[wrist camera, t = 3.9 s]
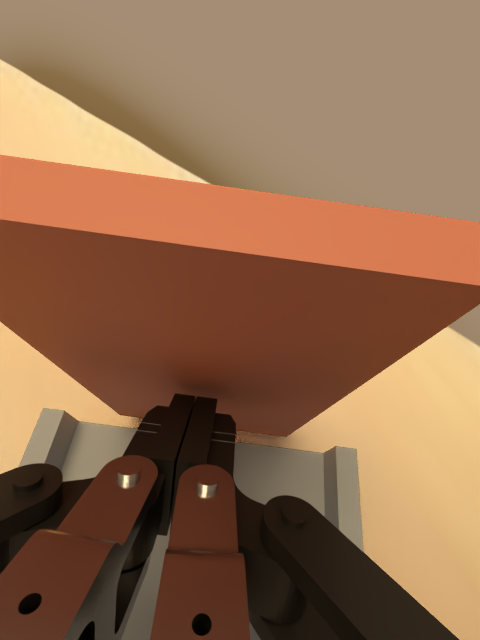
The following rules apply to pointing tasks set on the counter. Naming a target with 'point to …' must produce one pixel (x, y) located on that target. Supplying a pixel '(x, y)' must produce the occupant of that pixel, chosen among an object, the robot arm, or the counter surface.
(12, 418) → the counter surface
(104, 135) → the counter surface
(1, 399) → the counter surface
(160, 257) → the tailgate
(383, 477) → the counter surface
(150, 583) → the tray
